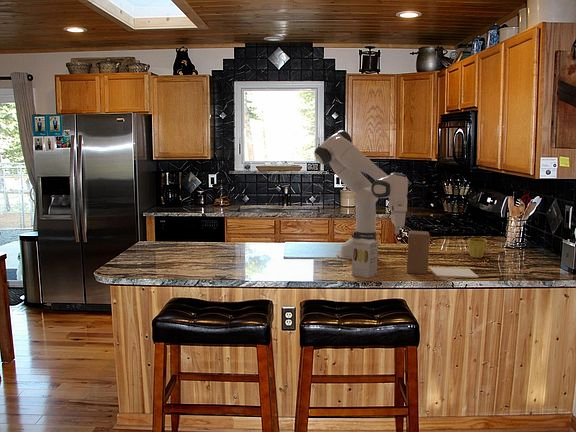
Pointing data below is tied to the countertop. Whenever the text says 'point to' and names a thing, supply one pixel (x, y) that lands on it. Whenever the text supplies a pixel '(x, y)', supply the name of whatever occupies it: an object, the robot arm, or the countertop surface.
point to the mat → (453, 272)
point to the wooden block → (418, 252)
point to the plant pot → (477, 247)
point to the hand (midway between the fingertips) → (396, 233)
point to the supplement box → (364, 258)
